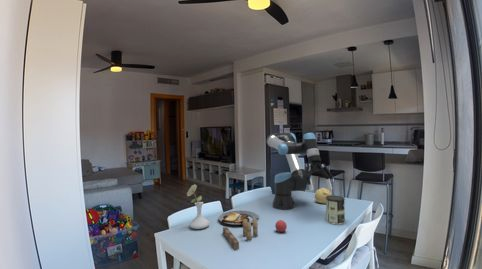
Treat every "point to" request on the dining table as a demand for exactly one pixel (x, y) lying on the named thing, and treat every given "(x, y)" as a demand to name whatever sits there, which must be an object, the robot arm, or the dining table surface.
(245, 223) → the pin
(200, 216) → the flower in vase
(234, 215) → the food plate
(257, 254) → the dining table surface
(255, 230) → the front pin
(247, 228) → the pin
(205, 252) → the dining table surface
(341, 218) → the coffee can
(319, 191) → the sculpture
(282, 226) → the ball
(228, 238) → the back wall
